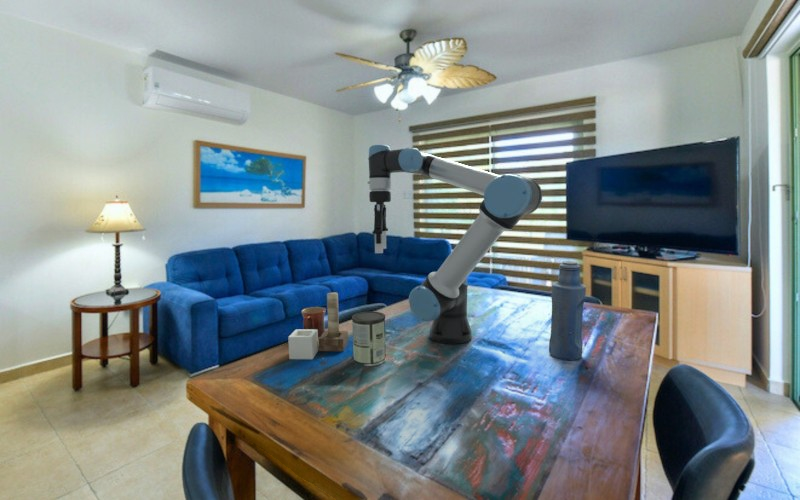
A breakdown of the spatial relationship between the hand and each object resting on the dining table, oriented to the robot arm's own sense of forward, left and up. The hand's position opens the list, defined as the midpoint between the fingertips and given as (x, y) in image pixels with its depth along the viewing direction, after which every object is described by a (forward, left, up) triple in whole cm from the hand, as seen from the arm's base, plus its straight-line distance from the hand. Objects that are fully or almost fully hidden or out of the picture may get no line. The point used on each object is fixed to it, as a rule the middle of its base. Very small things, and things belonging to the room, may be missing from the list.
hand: (380, 250), depth 135 cm
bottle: (-60, +16, -32) cm, 70 cm away
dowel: (+15, +13, -31) cm, 37 cm away
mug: (+25, +3, -32) cm, 41 cm away
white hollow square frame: (+23, +20, -32) cm, 44 cm away
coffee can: (+2, +21, -32) cm, 38 cm away
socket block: (+15, +13, -32) cm, 37 cm away
